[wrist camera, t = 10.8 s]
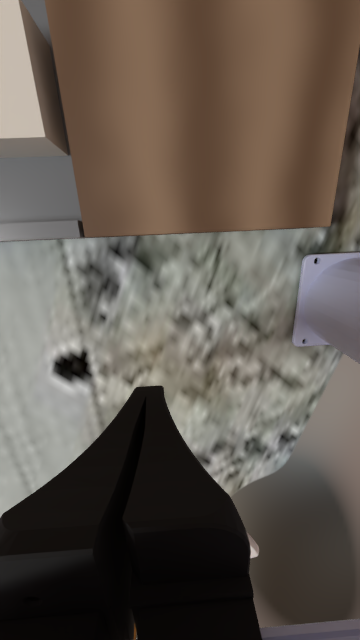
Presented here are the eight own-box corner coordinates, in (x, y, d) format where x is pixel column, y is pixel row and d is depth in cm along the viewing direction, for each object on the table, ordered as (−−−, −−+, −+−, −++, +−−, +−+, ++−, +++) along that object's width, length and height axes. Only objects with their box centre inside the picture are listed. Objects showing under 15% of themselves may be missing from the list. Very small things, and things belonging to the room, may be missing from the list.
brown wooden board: (345, -86, 13) (396, -180, 10) (305, 228, 18) (330, 226, 15) (49, -84, 12) (13, -181, 9) (98, 237, 18) (84, 237, 15)
